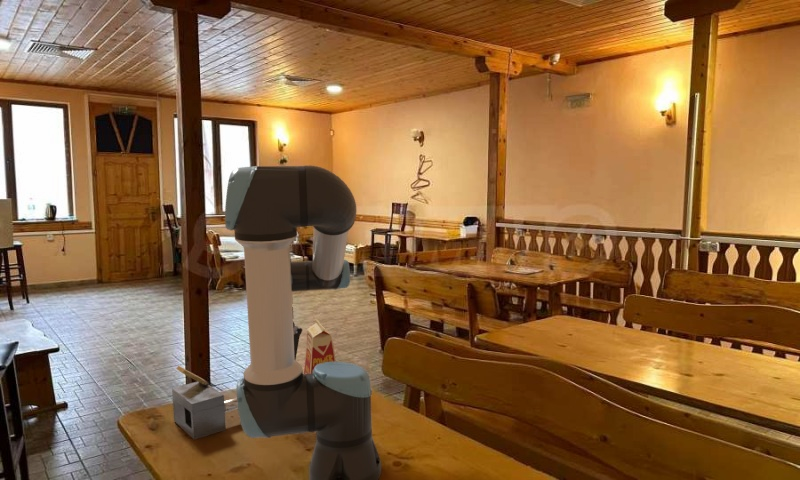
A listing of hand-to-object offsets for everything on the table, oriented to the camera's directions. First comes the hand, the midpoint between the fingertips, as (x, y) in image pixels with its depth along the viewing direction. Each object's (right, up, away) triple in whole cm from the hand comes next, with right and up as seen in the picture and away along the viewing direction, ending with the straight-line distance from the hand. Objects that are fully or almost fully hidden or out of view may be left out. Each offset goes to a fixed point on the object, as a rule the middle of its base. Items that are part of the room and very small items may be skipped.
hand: (282, 390), depth 152 cm
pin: (-10, -3, -8) cm, 13 cm away
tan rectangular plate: (-22, +6, -9) cm, 24 cm away
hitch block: (-19, -6, -11) cm, 23 cm away
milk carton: (+8, -3, +15) cm, 18 cm away
